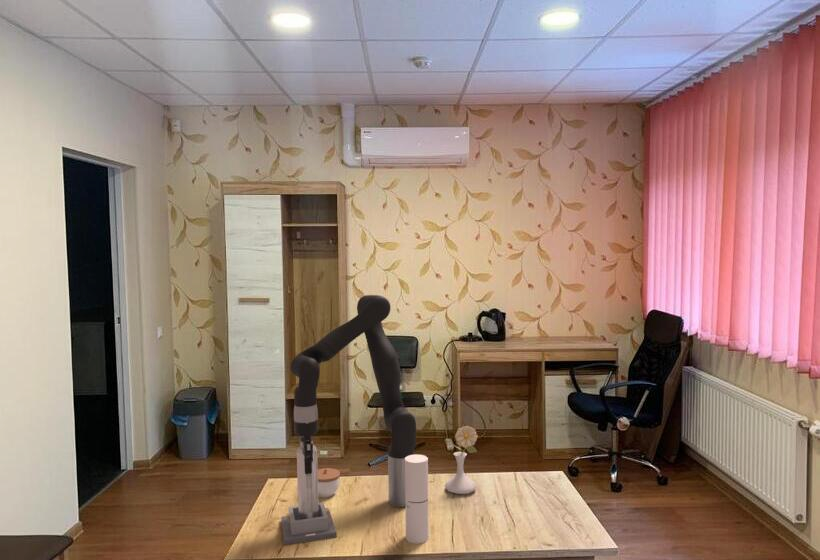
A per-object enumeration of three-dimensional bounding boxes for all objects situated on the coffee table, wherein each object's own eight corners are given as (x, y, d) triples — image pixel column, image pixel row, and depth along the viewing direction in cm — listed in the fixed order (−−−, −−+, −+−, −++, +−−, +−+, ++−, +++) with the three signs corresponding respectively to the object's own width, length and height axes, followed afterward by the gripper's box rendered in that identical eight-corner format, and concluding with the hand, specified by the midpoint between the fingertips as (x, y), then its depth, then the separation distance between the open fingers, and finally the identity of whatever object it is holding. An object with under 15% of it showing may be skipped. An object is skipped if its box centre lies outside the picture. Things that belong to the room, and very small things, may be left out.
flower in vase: (439, 492, 208) (438, 425, 207) (455, 482, 217) (454, 418, 216) (470, 500, 201) (469, 431, 200) (485, 489, 210) (484, 423, 209)
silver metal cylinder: (321, 519, 184) (320, 444, 183) (314, 528, 178) (312, 451, 177) (303, 517, 185) (301, 443, 184) (295, 527, 179) (293, 449, 178)
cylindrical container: (421, 545, 170) (420, 464, 169) (401, 539, 174) (400, 460, 173) (433, 535, 176) (432, 457, 175) (413, 529, 180) (412, 453, 179)
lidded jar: (318, 503, 201) (317, 477, 200) (306, 492, 210) (306, 467, 209) (345, 495, 206) (344, 470, 206) (332, 485, 215) (332, 461, 215)
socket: (329, 514, 191) (329, 498, 191) (336, 536, 176) (336, 519, 176) (281, 521, 187) (281, 505, 187) (284, 544, 172) (284, 527, 171)
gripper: (292, 413, 186) (293, 463, 187) (295, 425, 172) (297, 479, 173) (315, 411, 188) (316, 460, 189) (320, 423, 174) (321, 476, 175)
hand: (307, 469), depth 181 cm, fingers closed on silver metal cylinder, 6 cm apart
